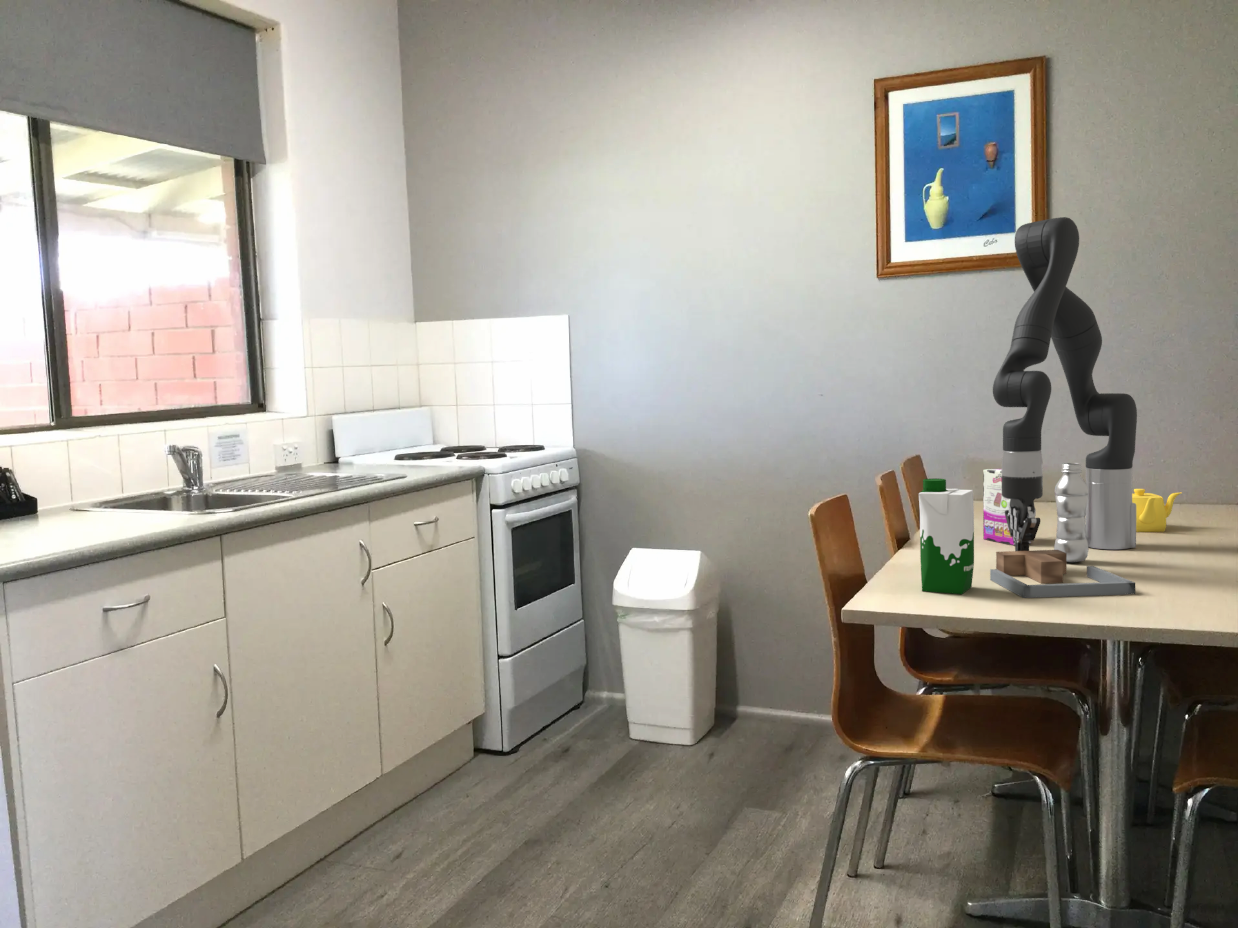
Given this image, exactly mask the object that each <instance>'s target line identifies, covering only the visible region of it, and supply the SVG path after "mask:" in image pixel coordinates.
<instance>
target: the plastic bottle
mask: <svg viewBox="0 0 1238 928" xmlns="http://www.w3.org/2000/svg"><path fill="white" fill-rule="evenodd" d="M1060 471H1061V473H1062V476H1061V477H1060V478H1059V480H1058V481H1057V482H1056V484H1055V487H1054V498H1055V504H1056V515H1057V517H1056V521H1057V523H1056V534H1055V535H1056V536H1055V537H1056V538H1055V540H1054V541H1055V542H1054V547H1053V550H1060V551H1062V552H1065V553H1067V557H1066V563H1070V564H1073V563H1078V562H1083V561H1085V560H1086V559H1088V556H1089V555H1088V554H1089V549H1090V548H1089V547H1088V542H1087V539H1086V526H1085V516H1086V505H1087V499H1088V486H1087V484H1086V480H1084V479H1083V477H1082V476H1081V473H1083V471H1082V463H1079V462H1063V463H1062V464H1061V470H1060Z"/></svg>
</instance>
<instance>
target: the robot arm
mask: <svg viewBox="0 0 1238 928" xmlns="http://www.w3.org/2000/svg"><path fill="white" fill-rule="evenodd" d="M1079 246H1080V233H1079V229H1078V226H1077V225H1076V223H1075V221H1074V220H1072V219H1071V218H1070V217H1066V216H1065V217H1055V218H1049V219H1043V220H1039V221H1038V220H1037V221H1032V222H1027V223H1024V224H1022V225H1020V226H1018V228H1017V229H1016V231H1015V235H1014V248H1015V253H1016V256H1017V259H1018V261H1019V264H1020V267H1021V268H1022V270H1023V272H1024V274H1025V276H1026V277H1025V278H1027V281H1028V282H1029V284H1030V286H1031V289H1032V290H1033V293H1032V294H1031V296H1030V297H1029V298H1028V299H1027V301H1026V302H1025V304H1024V305H1023V306H1022V308H1021V309H1020V311H1019V313H1018V315H1017V317H1016V320H1015V323H1014V327H1013V332H1012V337H1011V343H1010V347H1009V350H1008V352H1007V354H1006V355H1005V356H1006V357H1005V358H1004V360H1003V362H1002V365H1000V368H999V370H998V371H997V374H996V376H995V378H994V381H993V384H992V385H993V386H992V396H993V399H994V401H995V402H996V404H998V406H1000V407H1003V408H1026V412H1025V414H1024V415H1023V416H1022V417H1020V418H1015V419H1012V420H1008V421H1006V422H1005V423H1004V424H1003V426H1002V458H1001V469H1002V496H1003V497H1004V498H1007V499H1010V507H1009V510H1005V517H1006V520H1007V524H1008V528H1009V532H1010V536H1011V537H1013V540H1014V541H1016V542H1015V545H1014V551H1030V544H1029V542H1031V543H1032V542H1034V541H1035V539H1036V536H1037V533H1038V530H1039V529H1040V525H1041V518H1040V517H1036V512H1037V511H1036V510H1037V509H1036V507H1035V500H1037V499H1040V498H1041V499H1042V497H1043V496H1044V494H1043V487H1044V486H1043V483H1044V482H1043V478H1044V476H1043V475H1044V473H1043V472H1044V471H1043V468H1044V467H1043V464H1044V463H1043V454H1042V428H1043V424H1044V421H1045V415H1046V411H1047V407H1048V405H1049V401H1050V398H1051V395H1052V382H1051V379H1050V378H1049V376H1048V375H1047V374H1046V372H1044V371H1041V370H1026V369H1028V368H1029V367H1032V366H1035V365H1039V364H1041V363H1043V362H1044V361H1046V359H1047V357H1048V356H1049V355H1048V354H1049V349H1050V344H1051V341H1052V344H1053V346H1054V348H1055V351H1056V354H1057V356H1058V359H1059V361H1060V364H1061V367H1062V370H1063V374H1064V375H1065V379H1066V383H1067V386H1068V388H1069V394H1070V399H1071V401H1072V406H1073V410H1074V411H1073V412H1074V415H1075V418H1076V420H1077V424H1078V426H1079V428H1080V430H1081V431H1082V432H1083V433H1085V434H1086V435H1089V436H1093V437H1108V442H1107V445H1105V446H1104V447H1103V448H1101V449H1099V450H1097V451H1094V452H1091V453H1088V454H1087V455H1086V457H1085V483H1086V484H1087V486H1088V499H1087V505H1086V516H1085V526H1086V539H1087V542H1088V548H1092V549H1101V550H1126V549H1130V548H1132V549H1133V548H1137V532H1136V504H1135V503H1132V493H1133V468H1134V467H1133V462H1134V458H1135V452H1136V439H1137V438H1136V437H1137V436H1136V435H1137V426H1138V425H1137V422H1138V418H1137V417H1138V409H1137V404H1136V402H1135V400H1134V397H1133V396H1132V395H1130V394H1128V393H1121V392H1120V393H1118V392H1117V393H1112V392H1111V393H1109V392H1108V393H1102V392H1101V393H1099V392H1098V390H1097V388H1096V386H1095V382H1094V378H1093V372H1094V367H1095V366H1096V363H1097V360H1098V358H1099V355H1100V352H1101V349H1102V345H1103V337H1102V333H1101V332H1102V331H1100V327H1099V324H1098V321H1097V319H1096V316H1095V313H1094V311H1093V309H1092V308H1091V307H1090V306H1089V304H1088V303H1087V302H1085V301H1084V300H1083V299H1082V298H1081V297H1080V296H1078V295H1077V294H1076V293H1074V291H1072V290H1071V289H1069V288H1068V287H1067V285H1068V282H1069V279H1070V276H1071V273H1072V271H1073V267H1074V264H1075V261H1076V259H1077V256H1078V252H1079Z"/></svg>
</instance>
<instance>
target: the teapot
mask: <svg viewBox="0 0 1238 928" xmlns="http://www.w3.org/2000/svg"><path fill="white" fill-rule="evenodd" d="M1133 492H1134V493H1133ZM1133 492H1132V503H1135V504H1136V533H1165V531H1166V528H1167V519H1168V517H1169V516H1170V515H1171V513H1172V510H1173V505H1174V501H1175V500H1176V498H1177V497H1178V496H1179V495H1182V493H1183V492H1173V493H1170V495H1169V496H1168V497H1167V499H1166V503H1165V501H1164V498H1163V497H1162V496H1161V495H1158V494H1156V493H1152V492H1146V489H1144V488H1134V489H1133Z"/></svg>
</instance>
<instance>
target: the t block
mask: <svg viewBox="0 0 1238 928" xmlns="http://www.w3.org/2000/svg"><path fill="white" fill-rule="evenodd" d="M995 553H996V555H995V556H996V557H995V558H996V559H995V563H996V564H995V565H996V566H995V567H996V568H995V569H997V570H999V571H1001V572H1003V573H1005V574H1007V575H1009V576H1011V577H1014V576H1026V577H1027V578H1029V579H1032V580H1033V581H1036V582H1037V583H1039V584H1064V575H1066V574H1067V562H1066V557H1067V553H1065V552H1062V551H1060V550H1054V549H1043V550H1042V549H1039V550H1035V549H1034V550H1029V551H1015V550H1011V551H1010V550H1008V551H1004V550H1002V551H996V552H995Z"/></svg>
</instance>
